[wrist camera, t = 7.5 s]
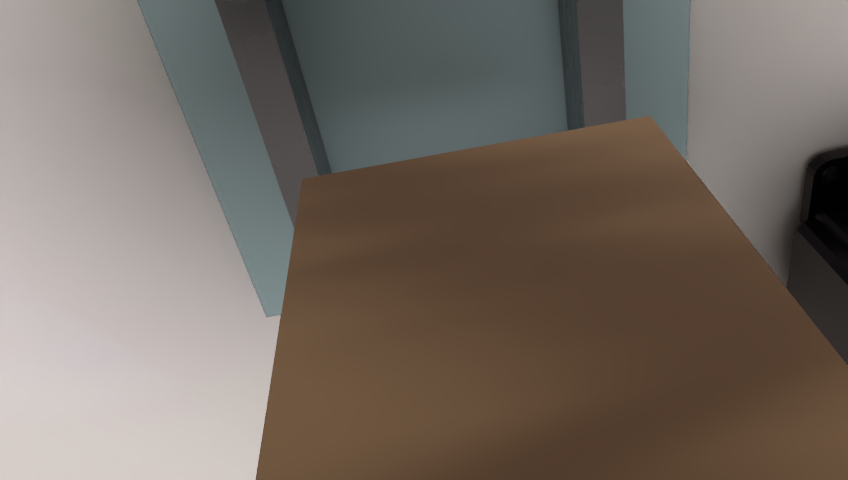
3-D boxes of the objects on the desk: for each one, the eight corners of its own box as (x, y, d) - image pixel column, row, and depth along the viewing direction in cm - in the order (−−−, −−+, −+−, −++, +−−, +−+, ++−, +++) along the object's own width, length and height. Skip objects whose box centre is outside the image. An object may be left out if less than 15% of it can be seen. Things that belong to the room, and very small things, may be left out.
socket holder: (686, -286, 15) (741, -294, 13) (676, 226, 22) (710, 276, 20) (85, -152, 15) (40, -137, 13) (268, 304, 23) (258, 362, 21)
